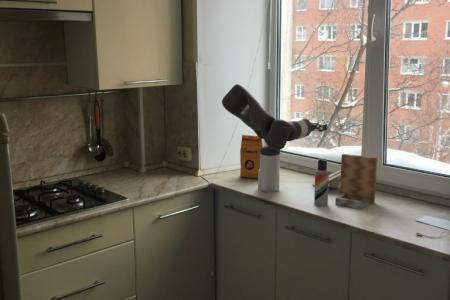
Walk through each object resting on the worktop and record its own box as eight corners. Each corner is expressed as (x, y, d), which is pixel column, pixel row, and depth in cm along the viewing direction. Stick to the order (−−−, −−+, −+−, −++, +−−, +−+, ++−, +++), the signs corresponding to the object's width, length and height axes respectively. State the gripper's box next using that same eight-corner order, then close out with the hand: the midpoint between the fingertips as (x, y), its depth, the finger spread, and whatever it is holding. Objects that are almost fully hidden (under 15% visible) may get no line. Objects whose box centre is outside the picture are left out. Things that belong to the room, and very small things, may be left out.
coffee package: (259, 180, 267) (260, 137, 263) (237, 178, 272) (237, 135, 268) (266, 176, 276) (267, 134, 271) (245, 173, 281) (245, 133, 277)
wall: (327, 202, 244) (352, 181, 243) (314, 187, 244) (339, 166, 243) (323, 197, 260) (346, 177, 259) (311, 184, 261) (335, 164, 259)
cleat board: (331, 204, 227) (333, 158, 223) (341, 197, 237) (343, 153, 233) (365, 209, 219) (368, 162, 215) (374, 202, 229) (377, 157, 225)
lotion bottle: (312, 203, 228) (314, 157, 224) (325, 202, 229) (327, 157, 225) (316, 207, 223) (317, 160, 219) (329, 206, 223) (331, 160, 219)
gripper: (280, 137, 201) (297, 131, 214) (315, 140, 193) (331, 134, 207) (280, 117, 199) (298, 113, 213) (316, 120, 192) (332, 115, 206)
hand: (314, 124), depth 210 cm, fingers open, 8 cm apart
